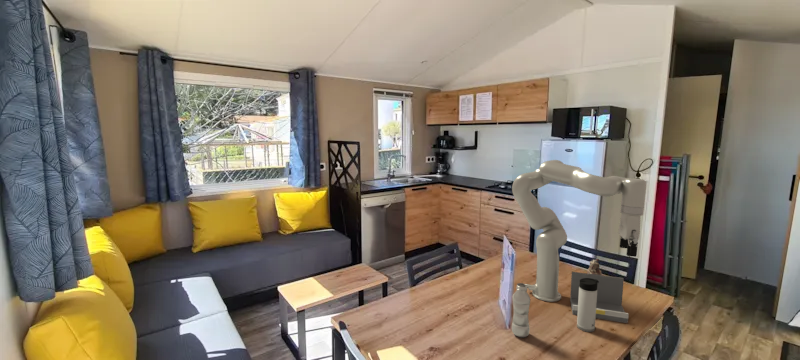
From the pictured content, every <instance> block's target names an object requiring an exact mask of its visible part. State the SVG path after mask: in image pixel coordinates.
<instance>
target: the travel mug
mask: <svg viewBox="0 0 800 360" xmlns="http://www.w3.org/2000/svg"><path fill="white" fill-rule="evenodd" d="M598 283H599V281H598V280H597V279H592V278H583V279H580V283H579V297H578V314H577V315H576V317H577V318H576V327H577V328H578V329H579V330H581V331H582V332H587V333H593V332H595V330H596V319H597V318H596V303H597V285H598Z"/></svg>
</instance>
